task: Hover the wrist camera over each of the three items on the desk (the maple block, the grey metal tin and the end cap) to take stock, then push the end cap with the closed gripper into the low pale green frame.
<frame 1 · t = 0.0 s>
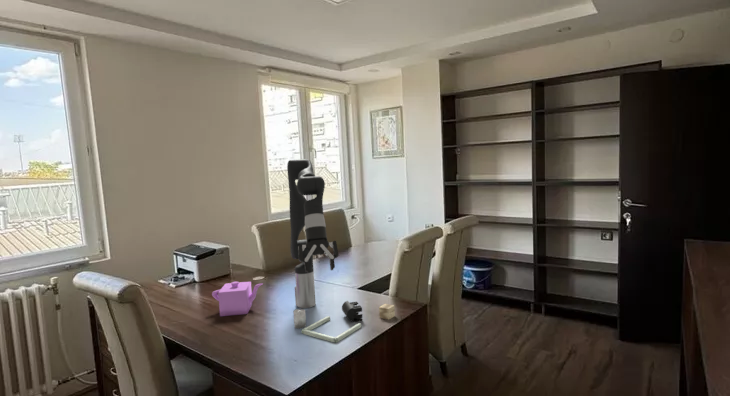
hand: (320, 271, 143), 31 cm above the table, tool tilted 20°, fingers open, 8 cm apart
pale green frame: (332, 329, 169), on the table
maple block: (387, 316, 180), on the table
grey metal tin: (300, 326, 174), on the table
teapot: (239, 309, 200), on the table
end cap: (352, 319, 180), on the table
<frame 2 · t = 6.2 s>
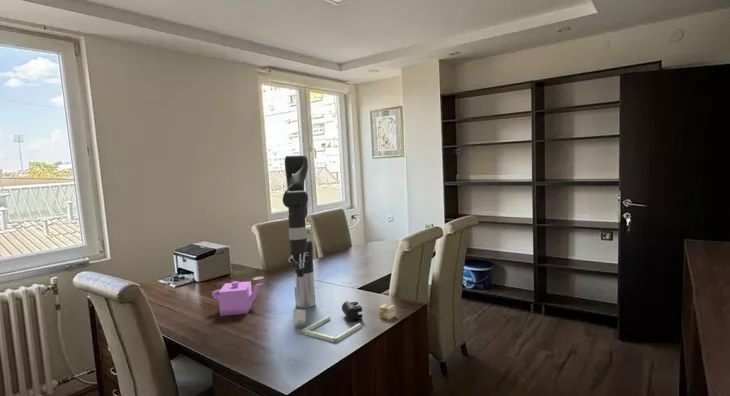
hand: (300, 276, 173), 22 cm above the table, tool pointing down, fingers closed
nothing on the table moved.
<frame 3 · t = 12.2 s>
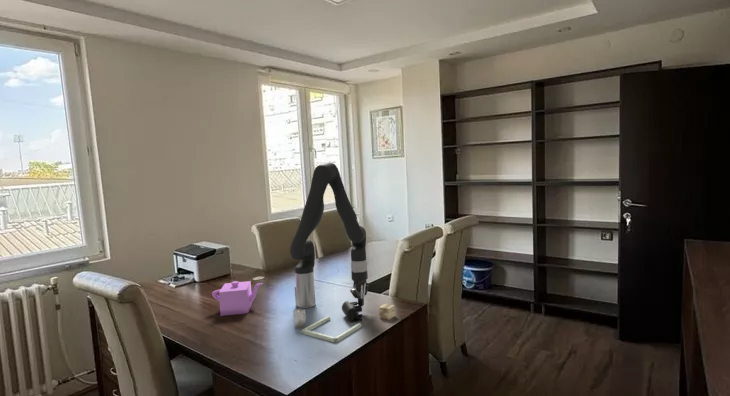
hand: (361, 305, 186), 3 cm above the table, tool pointing down, fingers closed
end cap: (352, 319, 180), on the table, touching gripper
everything else where it was.
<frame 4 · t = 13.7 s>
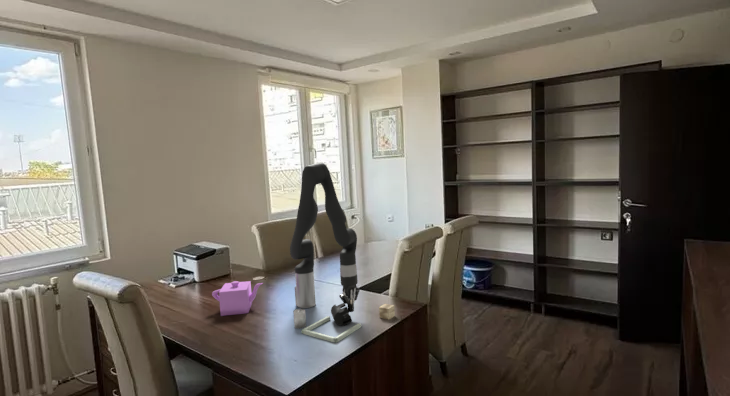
hand: (351, 311, 179), 4 cm above the table, tool pointing down, fingers closed
end cap: (343, 321, 176), on the table
everything else where it was.
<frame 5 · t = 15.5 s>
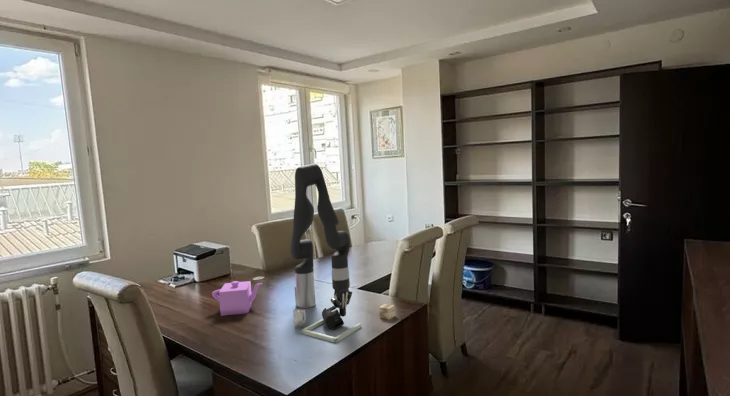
hand: (342, 315, 174), 4 cm above the table, tool pointing down, fingers closed
end cap: (335, 324, 173), point 1 cm above the table, touching gripper
everything else where it was.
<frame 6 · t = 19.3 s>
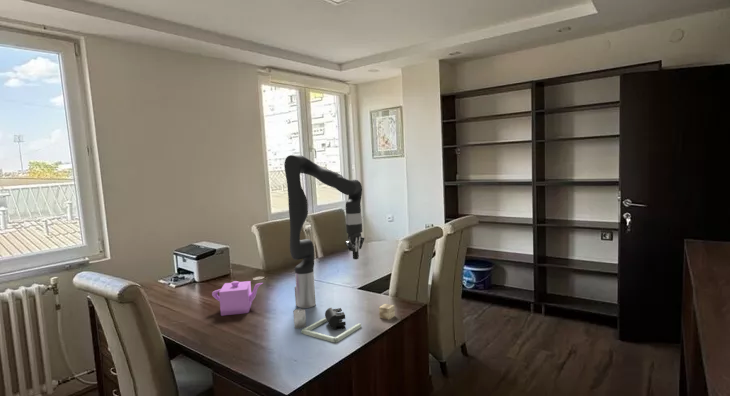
hand: (355, 259, 187), 25 cm above the table, tool pointing down, fingers closed
end cap: (335, 326, 173), on the table
everything else where it was.
at the end: end cap inside the target area (4.1 cm from its centre), on the table; maple block moved 0.1 cm from its start; grey metal tin moved 0.0 cm from its start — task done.
